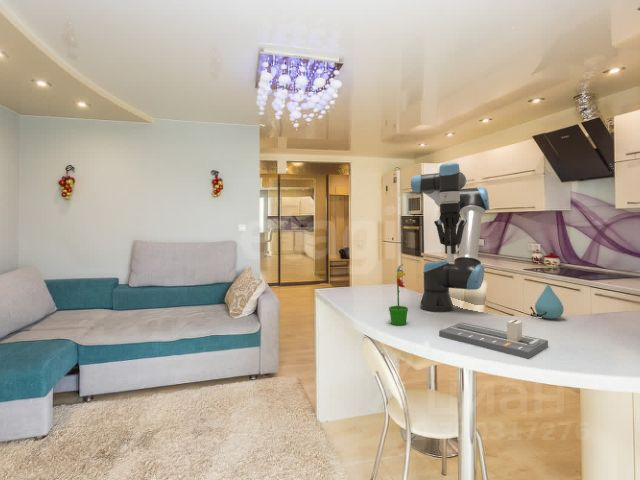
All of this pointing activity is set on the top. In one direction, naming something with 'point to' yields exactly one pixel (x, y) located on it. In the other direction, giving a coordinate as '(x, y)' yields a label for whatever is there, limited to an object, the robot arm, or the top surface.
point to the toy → (548, 305)
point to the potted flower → (398, 312)
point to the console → (494, 339)
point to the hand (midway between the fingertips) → (450, 261)
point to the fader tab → (514, 330)
